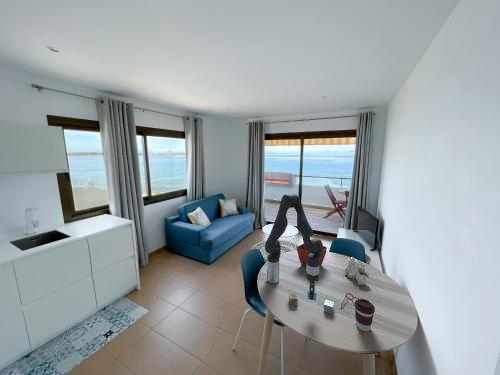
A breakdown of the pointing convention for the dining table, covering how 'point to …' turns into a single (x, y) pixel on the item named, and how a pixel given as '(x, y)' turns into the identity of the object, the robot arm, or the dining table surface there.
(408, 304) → the dining table surface
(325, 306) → the slate gray block
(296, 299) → the walnut block
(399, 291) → the dining table surface
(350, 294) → the glasses
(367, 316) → the coffee cup
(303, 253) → the plant pot
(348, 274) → the chinaware
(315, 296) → the teal block
